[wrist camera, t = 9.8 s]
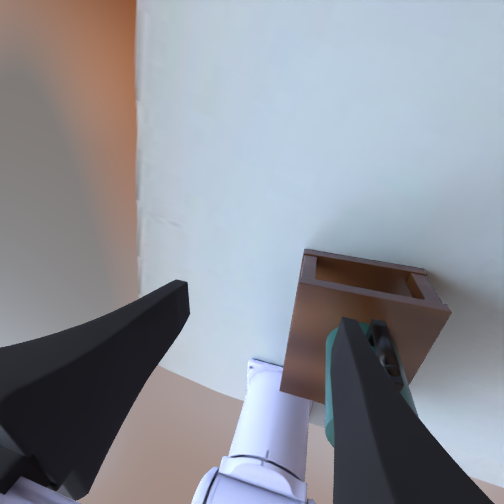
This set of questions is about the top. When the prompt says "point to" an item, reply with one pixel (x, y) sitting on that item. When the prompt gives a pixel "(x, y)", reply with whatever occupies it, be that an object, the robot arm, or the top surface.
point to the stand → (357, 314)
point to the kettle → (388, 358)
